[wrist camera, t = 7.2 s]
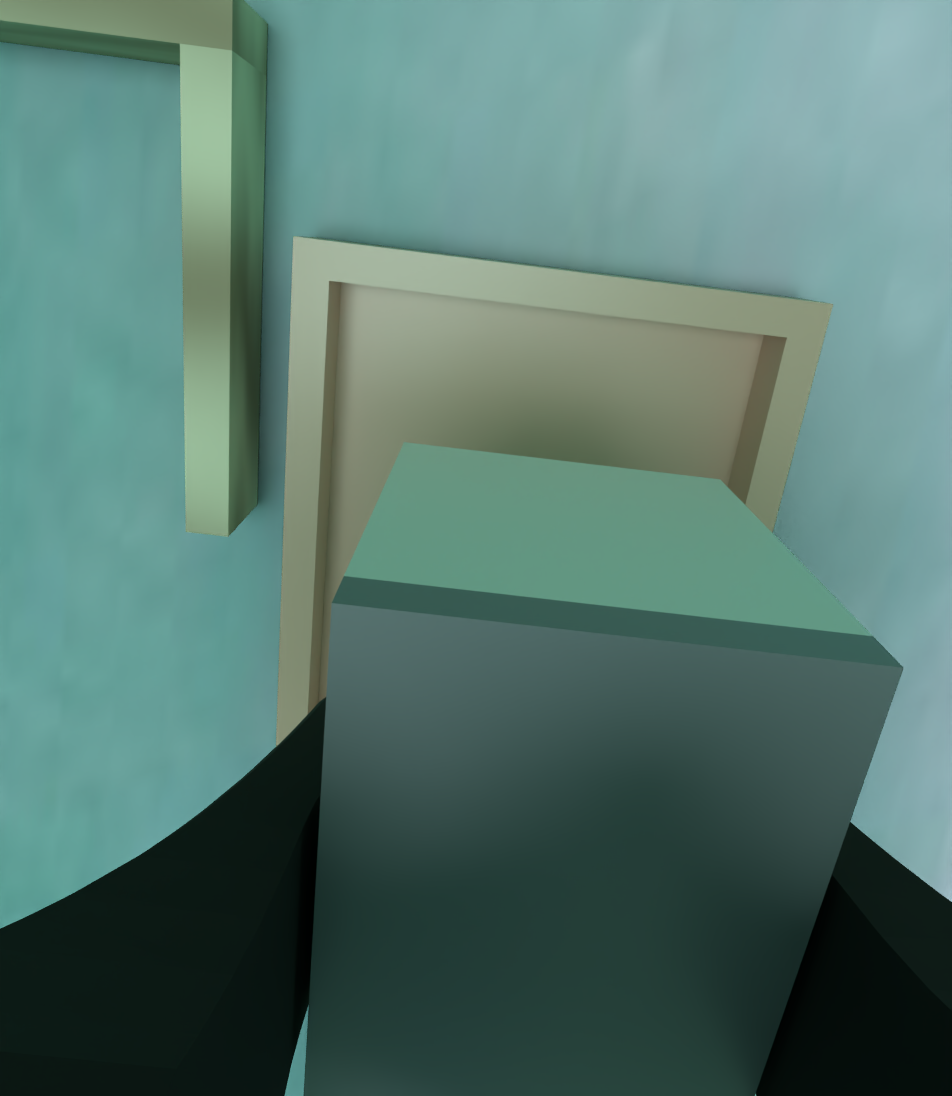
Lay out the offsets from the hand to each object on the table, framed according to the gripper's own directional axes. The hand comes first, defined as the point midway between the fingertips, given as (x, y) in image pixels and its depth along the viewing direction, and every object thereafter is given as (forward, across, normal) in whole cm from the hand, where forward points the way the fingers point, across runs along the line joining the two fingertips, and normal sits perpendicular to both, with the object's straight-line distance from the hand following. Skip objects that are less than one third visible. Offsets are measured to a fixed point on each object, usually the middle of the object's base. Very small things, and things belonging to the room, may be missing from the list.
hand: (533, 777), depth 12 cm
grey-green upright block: (+2, 0, 0) cm, 3 cm away
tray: (+10, 0, 0) cm, 10 cm away
